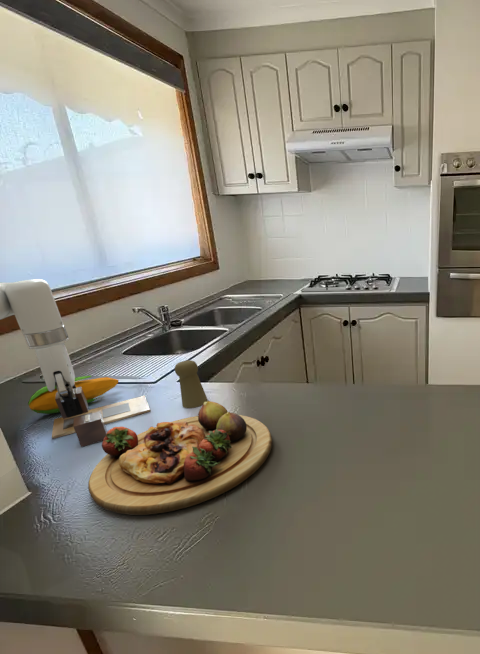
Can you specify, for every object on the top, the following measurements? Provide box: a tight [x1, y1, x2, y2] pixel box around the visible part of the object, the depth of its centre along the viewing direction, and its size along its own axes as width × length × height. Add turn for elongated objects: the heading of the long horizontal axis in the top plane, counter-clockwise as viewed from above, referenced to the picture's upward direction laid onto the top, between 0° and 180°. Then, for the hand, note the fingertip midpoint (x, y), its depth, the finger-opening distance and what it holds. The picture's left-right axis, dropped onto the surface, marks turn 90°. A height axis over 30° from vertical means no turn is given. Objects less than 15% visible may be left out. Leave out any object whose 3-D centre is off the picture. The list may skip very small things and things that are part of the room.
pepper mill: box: [174, 359, 209, 409], centre depth 104 cm, size 6×6×11 cm
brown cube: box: [73, 411, 108, 448], centre depth 92 cm, size 5×5×5 cm
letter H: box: [55, 387, 89, 419], centre depth 99 cm, size 5×5×5 cm
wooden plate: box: [87, 400, 273, 516], centre depth 79 cm, size 32×32×8 cm
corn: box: [27, 374, 119, 415], centre depth 110 cm, size 7×8×20 cm
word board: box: [51, 394, 151, 440], centre depth 103 cm, size 20×11×1 cm, turn 123°
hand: (75, 410), depth 99 cm, fingers closed on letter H, 5 cm apart
